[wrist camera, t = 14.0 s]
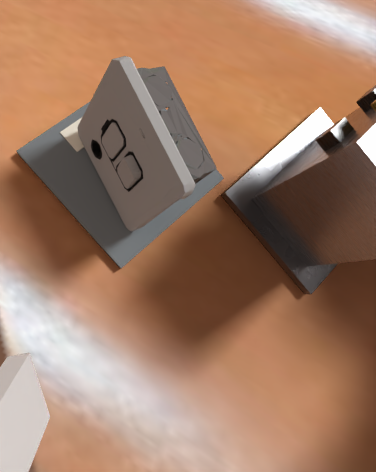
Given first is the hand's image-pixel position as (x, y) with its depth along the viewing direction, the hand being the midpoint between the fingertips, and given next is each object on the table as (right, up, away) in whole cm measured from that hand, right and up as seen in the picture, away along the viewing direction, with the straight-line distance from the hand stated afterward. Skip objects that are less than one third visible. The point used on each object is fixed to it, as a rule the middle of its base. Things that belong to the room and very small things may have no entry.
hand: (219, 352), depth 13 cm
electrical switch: (-6, +10, +17) cm, 21 cm away
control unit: (+11, +8, +22) cm, 26 cm away
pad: (-6, +10, +17) cm, 21 cm away
